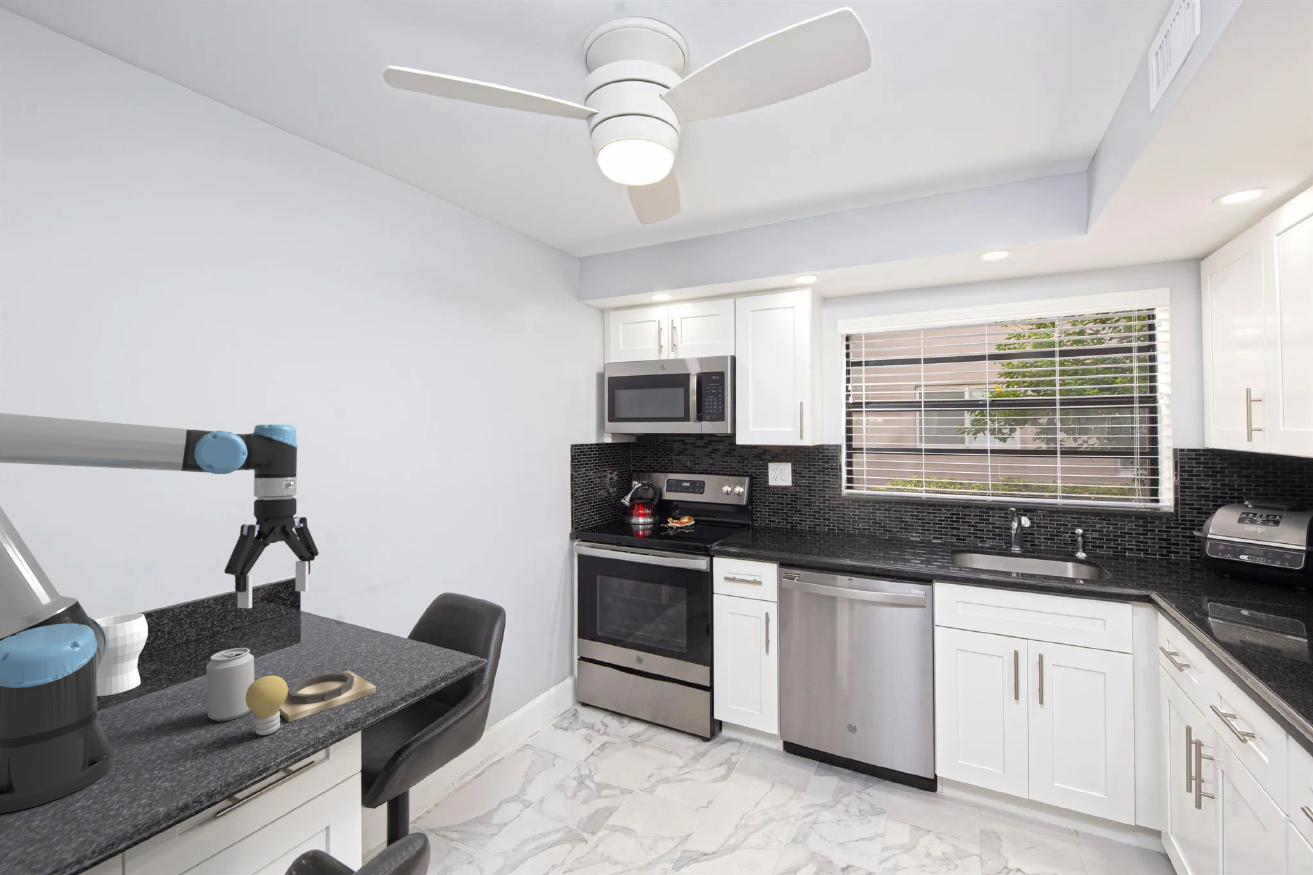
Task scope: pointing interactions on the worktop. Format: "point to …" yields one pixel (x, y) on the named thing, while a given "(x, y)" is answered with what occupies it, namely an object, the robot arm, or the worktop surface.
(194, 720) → the worktop surface
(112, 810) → the worktop surface
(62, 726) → the robot arm
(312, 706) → the board
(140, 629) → the cup
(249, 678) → the can
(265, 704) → the light bulb
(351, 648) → the worktop surface
